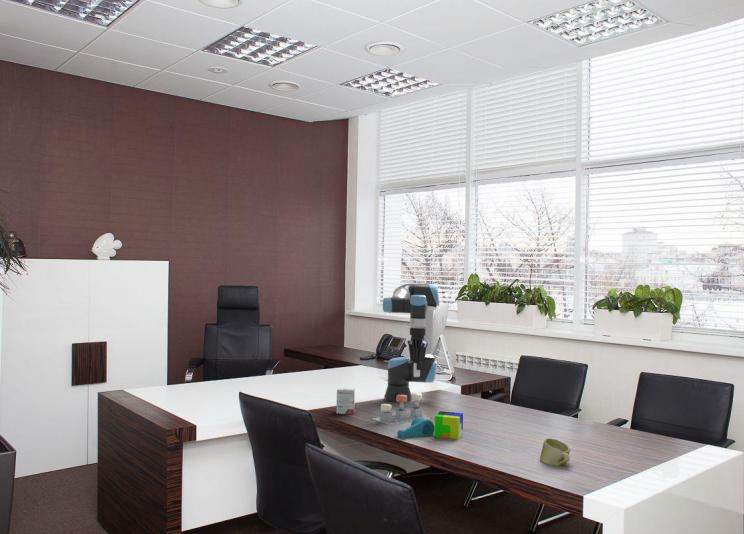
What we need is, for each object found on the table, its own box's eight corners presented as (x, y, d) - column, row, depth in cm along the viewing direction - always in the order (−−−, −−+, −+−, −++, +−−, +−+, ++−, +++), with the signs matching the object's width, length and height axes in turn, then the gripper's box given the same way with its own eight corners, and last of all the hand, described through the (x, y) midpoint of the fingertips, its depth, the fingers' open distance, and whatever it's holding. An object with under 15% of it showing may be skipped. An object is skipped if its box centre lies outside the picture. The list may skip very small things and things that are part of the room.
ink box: (354, 412, 306) (355, 388, 306) (353, 414, 301) (354, 390, 301) (337, 411, 307) (338, 387, 307) (336, 413, 302) (336, 389, 302)
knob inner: (417, 406, 300) (417, 392, 300) (423, 408, 296) (424, 394, 296) (409, 407, 297) (409, 393, 297) (415, 409, 293) (415, 395, 293)
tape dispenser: (434, 437, 263) (434, 419, 263) (403, 441, 257) (403, 422, 257) (426, 433, 269) (426, 415, 269) (395, 437, 263) (396, 419, 263)
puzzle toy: (462, 436, 266) (463, 413, 266) (458, 442, 256) (458, 418, 256) (439, 434, 269) (440, 411, 269) (434, 439, 259) (434, 416, 260)
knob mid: (402, 408, 295) (402, 394, 295) (408, 410, 291) (409, 396, 291) (394, 409, 292) (394, 395, 292) (400, 411, 288) (400, 397, 288)
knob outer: (387, 417, 290) (387, 403, 290) (393, 419, 286) (393, 405, 286) (378, 418, 287) (378, 404, 287) (384, 421, 283) (384, 406, 283)
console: (412, 414, 304) (412, 404, 304) (429, 420, 293) (430, 409, 293) (372, 420, 290) (372, 409, 290) (388, 426, 279) (389, 415, 279)
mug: (531, 451, 231) (545, 430, 228) (553, 462, 233) (568, 441, 230) (540, 470, 219) (555, 449, 217) (564, 482, 221) (579, 461, 218)
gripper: (403, 326, 300) (402, 375, 300) (420, 328, 289) (419, 379, 289) (415, 325, 304) (414, 373, 304) (432, 328, 293) (431, 378, 293)
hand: (416, 376), depth 297 cm, fingers closed
